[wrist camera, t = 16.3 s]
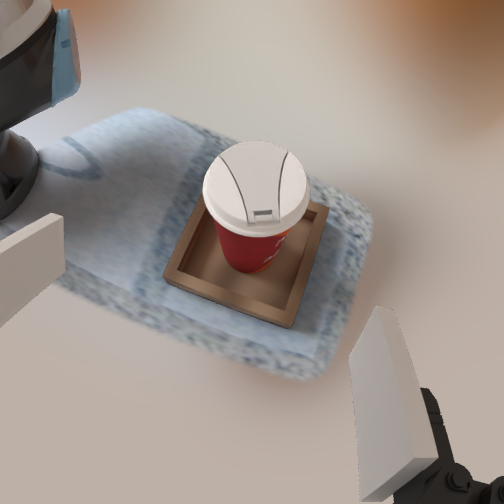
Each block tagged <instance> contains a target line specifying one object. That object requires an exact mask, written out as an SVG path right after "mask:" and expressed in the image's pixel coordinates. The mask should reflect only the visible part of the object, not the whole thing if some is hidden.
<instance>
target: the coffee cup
mask: <svg viewBox="0 0 504 504" xmlns="http://www.w3.org/2000/svg"><path fill="white" fill-rule="evenodd" d="M203 197H204V201H205V204H206V207H207V209H208V211H209V212H210V214H211V215H212V216H213V219H214V222H215V226H216V230H217V233H218V237H219V241H220V244H221V247H222V251H223V254H224V256H225V259H226V260H227V262H228V263H229V265H230V266H231V267H233V268H234V269H235V270H237V271H239V272H242V273H247V274H253V273H257V272H260V271H262V270H264V269H265V268H267V267H268V266H269V265H270V264H271V262H272V261H273V259H274V258H275V256H276V255H277V253H278V251H279V249H280V248H281V246H282V244H283V242H284V240H285V239H286V237H287V235H288V233H289V231H290V229H291V228H292V226H293V225H295V224H296V223H297V222H298V221H299V220H300V219H301V217H302V216H303V214H304V213H305V211H306V209H307V206H308V203H309V199H310V188H309V183H308V179H307V177H306V174H305V171H304V169H303V167H302V165H301V163H300V162H299V161H298V159H297V158H296V157H295V156H294V155H293V154H292V153H290V152H288V150H286V149H284V148H282V147H280V146H278V145H275V144H273V143H269V142H265V141H248V142H242V143H238V144H236V145H233V146H231V147H230V148H228V149H227V150H225V151H224V152H222V153H221V154H220V155H219V156H217V157H216V158H215V160H214V161H213V163H212V164H211V166H210V167H209V169H208V171H207V173H206V175H205V177H204V182H203Z"/></svg>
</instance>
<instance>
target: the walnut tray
mask: <svg viewBox="0 0 504 504" xmlns="http://www.w3.org/2000/svg"><path fill="white" fill-rule="evenodd" d="M328 212H329V207H326V206H323V205H321V204H318V203H315V202H313V201H310V200H309V203H308V206H307V209H306V211H305V213H304V214H303V216H302V217H301V219H300V220H299V221H298V222H297V223H296V224H295V225H293V226H292V228H291V229H290V231H289V233H288V235H287V237H286V239H285V240H284V242H283V244H282V246H281V248H280V249H279V251H278V253H277V255H276V256H275V258H274V259H273V261H272V262H271V264H270V265H269V266H268V267H267V268H265V269H264V270H262V271H260V272H257V273H253V274H247V273H242V272H239V271H237V270H235V269H234V268H233V267H231V266H230V265H229V263H228V262H227V260H226V259H225V256H224V254H223V251H222V247H221V244H220V241H219V237H218V233H217V230H216V226H215V222H214V219H213V216H212V215H211V214H210V212H209V211H208V209H207V207H206V204H205V201H204V197H203V192H202V194H201V196H200V198H199V200H198V202H197V204H196V206H195V208H194V210H193V212H192V214H191V216H190V218H189V220H188V222H187V224H186V226H185V228H184V231H183V233H182V235H181V237H180V239H179V241H178V243H177V245H176V247H175V249H174V251H173V254H172V256H171V258H170V260H169V262H168V264H167V267H166V269H165V271H164V273H163V275H162V277H163V278H164V279H165V280H166V282H167V283H168V284H171V285H173V286H176V287H178V288H181V289H183V290H185V291H188V292H190V293H193V294H195V295H198V296H200V297H203V298H205V299H208V300H211V301H213V302H216V303H218V304H221V305H223V306H226V307H229V308H231V309H234V310H237V311H239V312H242V313H244V314H247V315H250V316H253V317H255V318H258V319H261V320H263V321H266V322H269V323H272V324H274V325H277V326H280V327H283V328H286V329H288V328H290V327H291V326H292V325H293V322H294V319H295V316H296V313H297V310H298V307H299V305H300V302H301V299H302V296H303V292H304V289H305V286H306V283H307V280H308V277H309V274H310V271H311V268H312V265H313V261H314V258H315V255H316V252H317V248H318V245H319V242H320V239H321V235H322V232H323V229H324V225H325V222H326V218H327V215H328Z"/></svg>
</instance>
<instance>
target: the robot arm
mask: <svg viewBox="0 0 504 504" xmlns="http://www.w3.org/2000/svg"><path fill="white" fill-rule="evenodd" d="M80 83H81V70H80V62H79V53H78V46H77V39H76V33H75V27H74V22H73V18H72V14H71V11H70V10H69V9H64V10H63V9H61V10H58V11H57V12H55V11H54V8H53V5H52V3H51V1H50V0H0V220H1V219H3V218H5V217H6V216H8V215H9V214H10V213H11V212H13V211H14V210H15V209H16V208H17V207H18V206H19V204H20V203H21V202H22V201H23V199H24V198H25V197H26V195H27V194H28V192H29V190H30V189H31V187H32V185H33V182H34V180H35V177H36V174H37V170H38V162H39V161H38V154H37V152H36V150H35V148H34V147H33V146H32V144H31V143H30V142H29V141H28V140H27V139H25V138H24V137H22V136H18V135H17V134H15V133H14V132H12V131H11V130H9V128H11V127H13V126H14V125H16V124H18V123H20V122H22V121H24V120H26V119H28V118H30V117H32V116H33V115H36V114H38V113H40V112H42V111H44V110H46V109H48V108H50V107H54V106H55V105H56V104H57V103H59V102H61V101H63V100H65V99H66V98H69V97H71V96H72V95H74V94H75V93H76V92H77V90H78V89H79V87H80ZM65 272H66V267H65V249H64V216H60V215H57V214H54V213H50V214H48V215H46V216H44V217H42V218H40V219H38V220H37V221H35V222H33V223H31V224H29V225H27V226H26V227H24V228H22V229H20V230H18V231H17V232H15V233H13V234H11V235H10V236H8V237H6V238H4V239H3V240H1V241H0V328H1V327H2V326H3V325H4V324H5V323H6V322H7V321H8V320H9V319H11V318H12V317H13V316H14V315H15V314H16V313H17V312H18V311H19V310H21V309H22V308H23V307H24V306H25V305H26V304H28V303H29V302H30V301H31V300H32V299H33V298H34V297H36V296H37V295H38V294H39V293H40V292H42V290H44V289H45V288H46V287H47V286H49V285H50V284H51V283H52V282H54V281H55V280H56V279H57V278H59V277H60V276H61V275H62V274H64V273H65ZM348 358H349V367H350V374H351V384H352V393H353V403H354V414H355V425H356V438H357V453H358V469H359V494H360V501H363V502H382V501H384V500H385V499H386V498H388V497H389V496H391V495H392V494H393V497H394V503H393V504H504V476H501V477H498V478H496V479H495V480H494V481H493V482H491V483H490V484H485V483H482V482H478V481H474V480H473V479H472V476H471V475H470V472H469V471H468V470H467V469H466V468H465V467H464V466H462V465H460V464H458V463H455V461H454V458H453V454H452V450H451V447H450V443H449V440H448V436H447V432H446V429H445V426H444V425H443V423H444V422H443V419H442V416H441V415H440V409H439V406H438V403H437V400H436V399H435V397H434V396H433V395H432V393H431V392H430V390H429V389H427V388H420V387H419V383H418V380H417V377H416V374H415V370H414V367H413V364H412V361H411V358H410V355H409V352H408V349H407V347H406V344H405V341H404V338H403V335H402V332H401V330H400V327H399V324H398V322H397V319H396V316H395V314H394V311H393V309H389V308H386V307H382V306H378V305H375V307H374V309H373V311H372V313H371V316H370V317H369V319H368V321H367V323H366V325H365V327H364V329H363V331H362V333H361V335H360V337H359V339H358V340H357V342H356V344H355V346H354V348H353V350H352V352H351V354H350V355H349V357H348Z"/></svg>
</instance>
